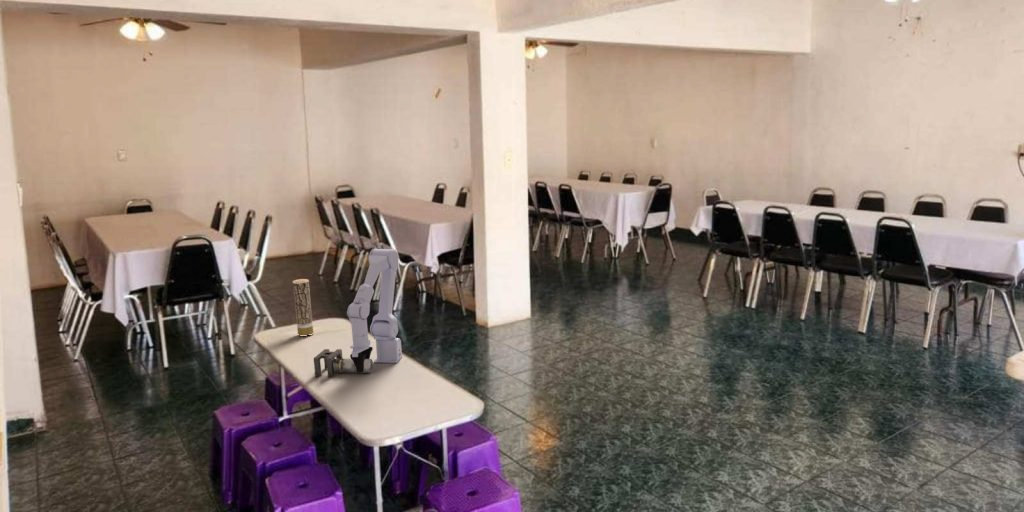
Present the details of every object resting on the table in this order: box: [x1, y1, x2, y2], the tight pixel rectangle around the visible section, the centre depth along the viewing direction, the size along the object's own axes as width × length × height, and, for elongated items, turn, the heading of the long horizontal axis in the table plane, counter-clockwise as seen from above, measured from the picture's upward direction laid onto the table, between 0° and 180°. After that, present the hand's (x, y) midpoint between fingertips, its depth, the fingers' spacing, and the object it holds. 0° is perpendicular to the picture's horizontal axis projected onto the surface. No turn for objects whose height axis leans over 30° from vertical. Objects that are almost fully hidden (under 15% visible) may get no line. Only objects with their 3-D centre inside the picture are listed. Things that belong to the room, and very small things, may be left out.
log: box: [292, 278, 314, 336], centre depth 318 cm, size 7×7×25 cm
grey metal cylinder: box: [333, 357, 374, 374], centre depth 268 cm, size 15×6×5 cm, turn 82°
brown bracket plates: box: [313, 348, 343, 379], centre depth 270 cm, size 7×11×7 cm, turn 172°
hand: (363, 369), depth 268 cm, fingers closed on grey metal cylinder, 5 cm apart
